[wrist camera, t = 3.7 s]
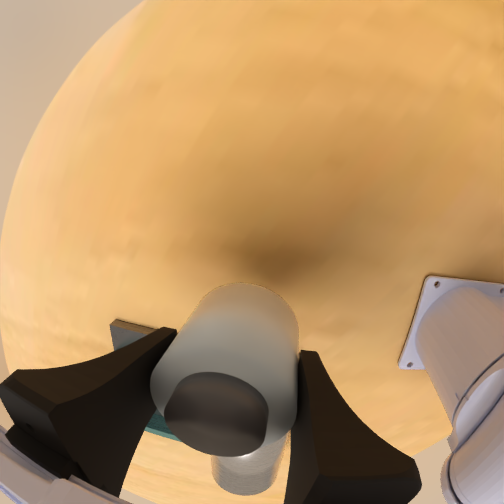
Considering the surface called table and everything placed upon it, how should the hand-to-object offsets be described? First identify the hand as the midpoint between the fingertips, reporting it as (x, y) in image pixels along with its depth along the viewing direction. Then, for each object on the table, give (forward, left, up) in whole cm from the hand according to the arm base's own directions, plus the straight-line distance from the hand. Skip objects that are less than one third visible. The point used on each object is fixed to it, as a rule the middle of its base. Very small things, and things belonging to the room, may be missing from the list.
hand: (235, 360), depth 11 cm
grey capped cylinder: (0, 0, -2) cm, 2 cm away
